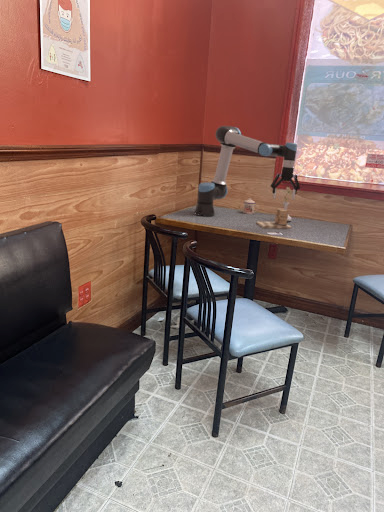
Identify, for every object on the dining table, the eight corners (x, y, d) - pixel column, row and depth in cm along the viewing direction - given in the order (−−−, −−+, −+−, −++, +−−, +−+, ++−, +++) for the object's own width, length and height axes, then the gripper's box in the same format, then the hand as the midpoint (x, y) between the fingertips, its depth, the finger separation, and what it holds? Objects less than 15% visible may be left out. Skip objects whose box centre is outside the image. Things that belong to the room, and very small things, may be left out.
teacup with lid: (241, 213, 315) (242, 198, 312) (244, 211, 323) (246, 197, 320) (256, 215, 311) (257, 200, 308) (258, 213, 319) (260, 198, 316)
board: (262, 228, 266) (263, 225, 265) (256, 223, 279) (256, 221, 279) (291, 228, 269) (291, 226, 269) (283, 224, 283) (283, 222, 282)
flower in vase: (291, 223, 290) (296, 188, 283) (275, 221, 292) (280, 187, 284) (291, 219, 302) (295, 186, 295) (275, 218, 304) (280, 185, 297)
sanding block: (286, 225, 271) (288, 211, 268) (279, 225, 270) (281, 211, 267) (281, 222, 279) (283, 208, 276) (274, 222, 278) (276, 208, 276)
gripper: (272, 166, 258) (267, 198, 264) (308, 168, 262) (303, 200, 269) (268, 165, 265) (264, 196, 271) (303, 167, 269) (298, 198, 276)
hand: (283, 198), depth 270 cm, fingers open, 13 cm apart
